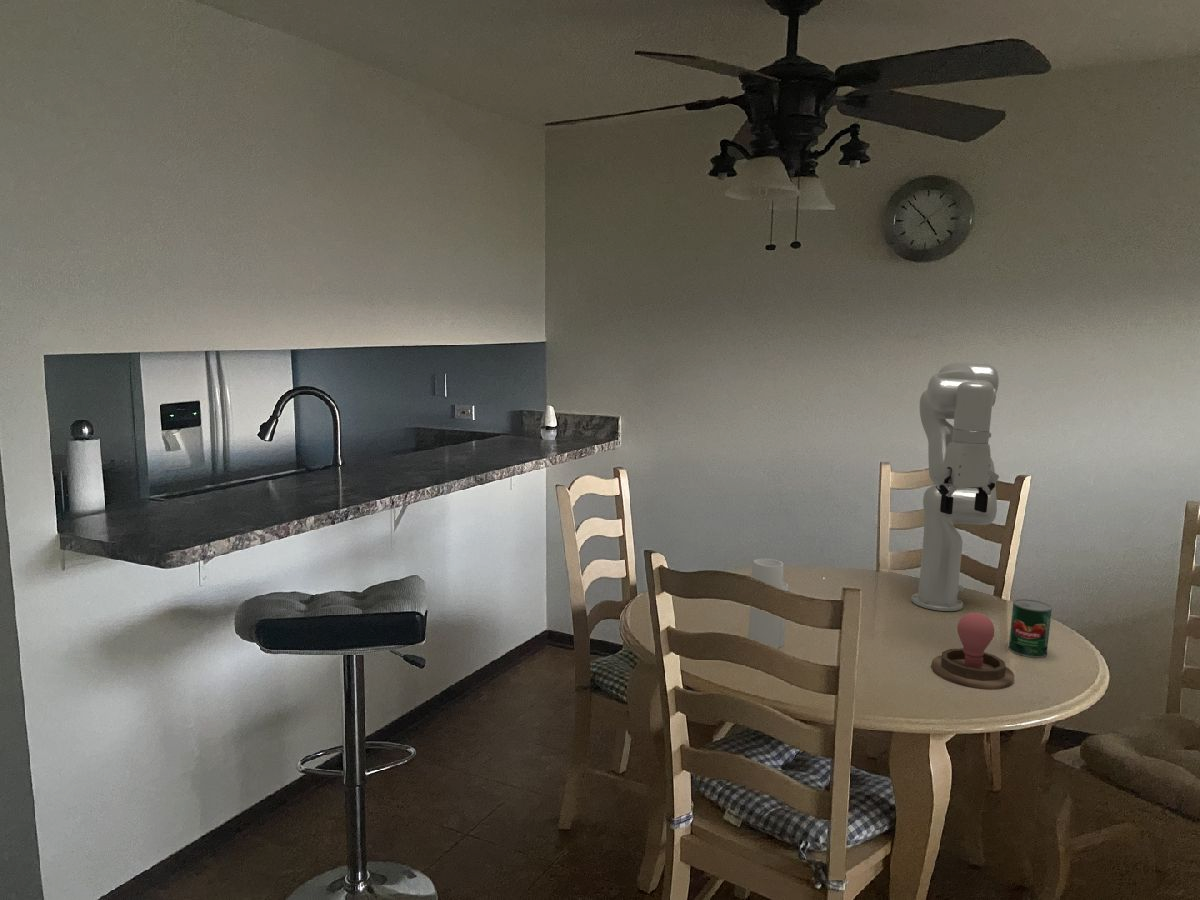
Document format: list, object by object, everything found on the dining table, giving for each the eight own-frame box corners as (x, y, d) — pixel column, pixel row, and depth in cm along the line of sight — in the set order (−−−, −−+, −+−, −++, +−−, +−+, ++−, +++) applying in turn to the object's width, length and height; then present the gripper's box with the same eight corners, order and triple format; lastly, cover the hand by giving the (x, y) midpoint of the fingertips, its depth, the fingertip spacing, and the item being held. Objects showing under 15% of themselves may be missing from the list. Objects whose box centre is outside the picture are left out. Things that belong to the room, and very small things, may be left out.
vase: (774, 658, 188) (780, 568, 185) (741, 652, 191) (747, 563, 188) (786, 642, 198) (792, 556, 195) (755, 636, 201) (760, 551, 198)
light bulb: (948, 667, 183) (953, 612, 182) (961, 658, 189) (966, 605, 187) (983, 677, 179) (989, 621, 177) (995, 668, 184) (1001, 613, 182)
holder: (955, 652, 195) (956, 640, 194) (1027, 676, 182) (1029, 663, 182) (916, 669, 185) (917, 655, 184) (990, 695, 172) (991, 681, 172)
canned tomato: (1038, 646, 201) (1044, 600, 199) (1052, 659, 193) (1058, 611, 191) (1002, 643, 202) (1007, 597, 200) (1015, 656, 194) (1020, 609, 192)
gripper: (988, 434, 202) (981, 507, 205) (927, 435, 196) (920, 510, 199) (1013, 439, 195) (1005, 514, 198) (951, 440, 189) (943, 517, 192)
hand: (963, 512), depth 198 cm, fingers open, 9 cm apart
